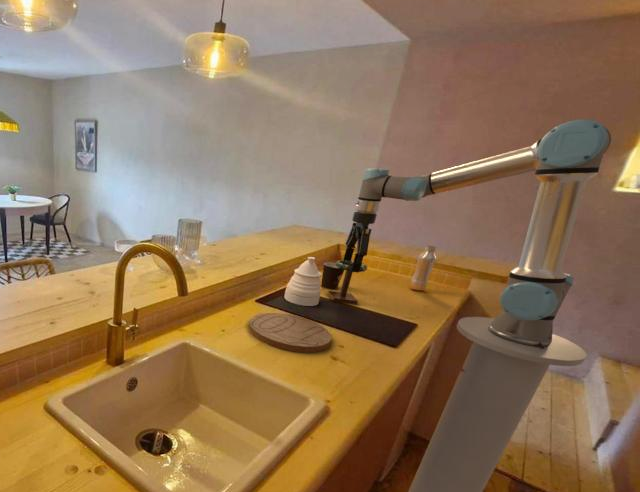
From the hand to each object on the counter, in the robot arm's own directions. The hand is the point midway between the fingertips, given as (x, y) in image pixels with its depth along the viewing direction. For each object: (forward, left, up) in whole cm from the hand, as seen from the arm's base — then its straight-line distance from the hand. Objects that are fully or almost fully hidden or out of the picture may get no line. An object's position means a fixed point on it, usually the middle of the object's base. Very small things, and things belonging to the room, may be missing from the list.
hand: (350, 267), depth 155 cm
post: (0, 0, -13) cm, 13 cm away
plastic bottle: (+26, -38, -14) cm, 48 cm away
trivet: (-42, +27, -14) cm, 52 cm away
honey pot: (-7, +17, -14) cm, 23 cm away
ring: (0, 0, +1) cm, 1 cm away
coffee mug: (+16, 0, -14) cm, 21 cm away
